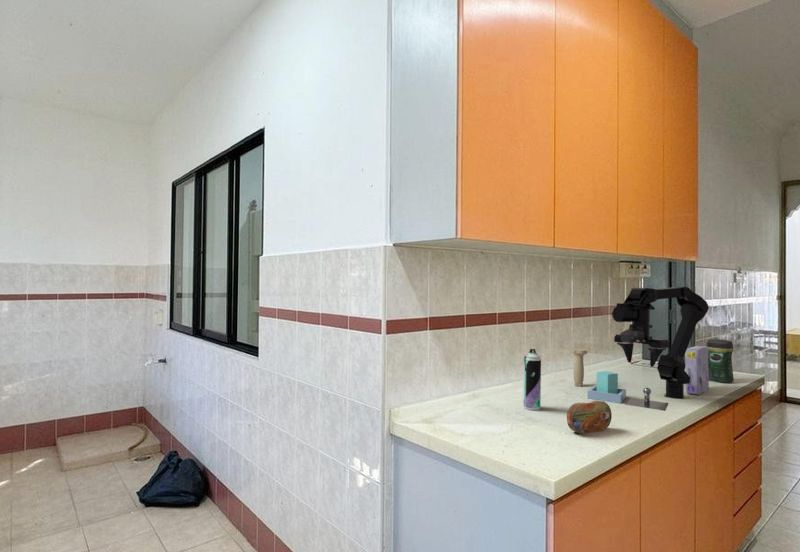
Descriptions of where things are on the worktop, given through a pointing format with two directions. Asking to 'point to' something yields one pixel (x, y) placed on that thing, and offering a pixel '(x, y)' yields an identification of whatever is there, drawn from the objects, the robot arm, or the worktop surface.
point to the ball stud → (647, 402)
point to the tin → (589, 417)
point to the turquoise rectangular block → (607, 382)
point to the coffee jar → (720, 360)
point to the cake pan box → (697, 369)
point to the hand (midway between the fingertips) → (640, 364)
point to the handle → (578, 366)
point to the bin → (606, 395)
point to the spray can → (532, 380)
